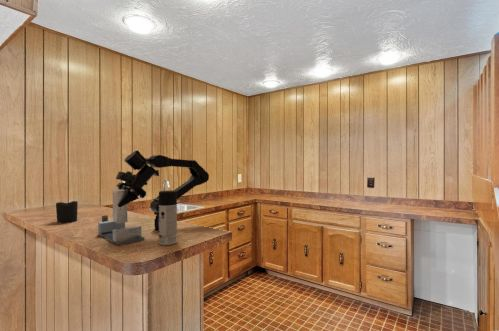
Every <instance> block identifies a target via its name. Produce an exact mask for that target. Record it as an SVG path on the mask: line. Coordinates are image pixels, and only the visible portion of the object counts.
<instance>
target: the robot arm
mask: <svg viewBox="0 0 499 331" xmlns="http://www.w3.org/2000/svg"><path fill="white" fill-rule="evenodd" d="M123 161H124V162H125V163H126V164H127V165H128V166H129V167H130V168H132V170H134V171H138V172H137V173H136V174H133V172H132V171H126V172H124V171H118V173H117V175H116V177H115V179H116V180H119V181H123V182H119V183H118V184H116V188H117V190H126V194H125V196H124V197H123V199H122V200H121V201H120V203H119V204H118V206H119V207H122V206H124V205H126V204H127V205H128V204H130V203H132V202H134V201H137V200H139V199H144V198H145V197H146V196H147V191H146V190H145V189H144V186H148V182H149V181H150V179H151V178H152V177H153V176H154V177H159V176H160V172H159V171H160V170H159V168H168V167H173V168H174V167H175V168H178V167H179V168H187V169H188V170H189V173H190V174H191V175H190V177H189V179H188V180H187V181H185V182H183V183H182V184H180V185H179V186H178V187H176V188H175V189H173V191H177V200H178V199H180V198H181V197H182V196H184V195H185V194H187V193H188V192H189V191H191V190H192V189H194V188H195V187H197V186H200V185H203V184H205V183H207V182H208V181H209V178H210V175H209V173H208V171H206V170H205V168H203V167H202V166H201V165H200V164H199V163H198V162H197V160H195V159H192V160H191V159H190V160H189V159H179V158H170V157H168V156H165V155H161V154H156V155H155V154H153V155H151V156H150V157H147V158H146V157H144V155H143V154H142V153H141V152H140V151H139V149H137V150H135V151H133V152H131V153H130V154H129V155H126V157H125V158H124V160H123ZM157 168H158V169H157ZM149 206H150V210H151V211H152V212H153V213H154V214H153V215H155V219H154V231H159V195H158V196H157V197H155V198H153V199H152V201H151V202H150V205H149Z"/></svg>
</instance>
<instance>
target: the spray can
mask: <svg viewBox="0 0 499 331" xmlns="http://www.w3.org/2000/svg"><path fill="white" fill-rule="evenodd" d="M158 196H159V230H158V244H159V245H160V246H164V247H167V246H172V245H175V244H176V243H177V240H178V211H177V210H178V199H177V191H174V190H160V191H158Z"/></svg>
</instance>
